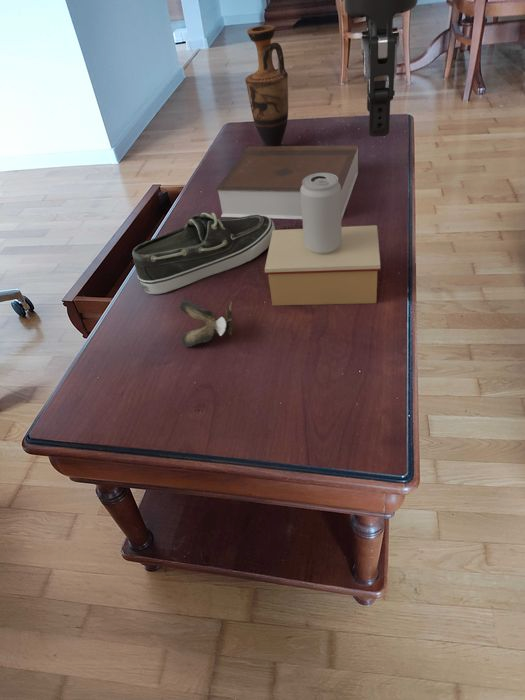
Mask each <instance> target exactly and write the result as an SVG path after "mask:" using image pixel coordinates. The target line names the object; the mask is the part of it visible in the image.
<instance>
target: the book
mask: <svg viewBox="0 0 525 700" xmlns="http://www.w3.org/2000/svg"><path fill="white" fill-rule="evenodd" d="M359 157H360V145H357V144H356V145H353V144H352V145H288V146H265V145H263V146H262V145H261V146H247V147H246V149H245V150H244V152H243V153H242V154H241V155H240V157H239V158H238V160H237V161H236V162H235V163H234V165H233V166H232V167H231V169H229V171H228V172H227V174H226V175H225V176H224V178H223V179H222V180H221V182H220V183H219V185H218V186H217V187H216V188H215V191H217V194H218V196H219V197H218V198H219V203H220V209H221V216H220V217H221V218H239V217H246V216H250V215H260V216H266V217H269V218H270V219H279V220H280V219H282V220H302V207H301V193H300V188H301V186H302V180H303V179H304V178H305V177H307V176H309V175H311V174H315V173H331V174H334V175H336V176H337V177H338V182H339V184H340V185H341V221H342V220H343V218H344V214H345V212H346V209H347V206H348V203H349V200H350V198H351V196H352V192H353V189H354V186H355V183H356V180H357V178H358V176H359V171H360V169H359V167H360V163H359V162H360V161H359V160H360V159H359Z"/></svg>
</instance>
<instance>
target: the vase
mask: <svg viewBox="0 0 525 700" xmlns="http://www.w3.org/2000/svg"><path fill="white" fill-rule="evenodd" d="M275 32H276V26H275V25H271V24H265V25H264V24H263V25H257V26H253V27H250V28H249V29H247V31H246V33H247V35H248V38H249V39H250V41H251V42H253V43H254V45H255V48H256V52H257V62H258V63H257V64H258V66H257V70H256V71H255V72H253V73H251V74H249V75H248V76H246V77H245V81H244V82H245V85H246V90H247V94H248V100H249V105H250V109H251V115H252V118H253V119H252V120H253V122H254V125H255V129H256V131H257V133H258V134H259V137H260V138H261V140H262V142H263V144H264V146H289V145H288V144H285V143H284V144H281V143H283V139H284V136H285V132H286V129H287V126H288V120H289V119H288V118H289V83H288V81H289V74H288V72H287V71H286V69H285V58H284V52H283V48H282V46H281V45H280V43H279V42H272V39H273V37H274V35H275ZM274 50H275V51H276V56H277V61H278V62H277V68H275V66H274V63H273V51H274Z"/></svg>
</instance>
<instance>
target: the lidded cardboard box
mask: <svg viewBox="0 0 525 700" xmlns="http://www.w3.org/2000/svg"><path fill="white" fill-rule="evenodd" d="M341 228H342V243H341V245H340V246H339V247H338V248H337V249H336V250H335V251H333V252H331V253H328V254H316V253H313V252H312V251H310V250H308V249H307V248H306V247H305V245H304V234H303V228H291V229H275V230H273V232H272V236H271V241H270V245H269V246H268V251H267V256H266V260H265V265H264V275H268V284H269V290H270V297H271V305H272V306H315V305H355V304H356V305H359V304H361V305H363V304H377V298H378V297H377V296H378V295H377V293H378V272H380V271H381V270H382V269H381V256H380V255H381V254H380V245H379V243H380V242H379V231H378V225H377V224H376V225H375V224H374V225H355V226H353V225H352V226H351V225H350V226H341Z"/></svg>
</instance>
